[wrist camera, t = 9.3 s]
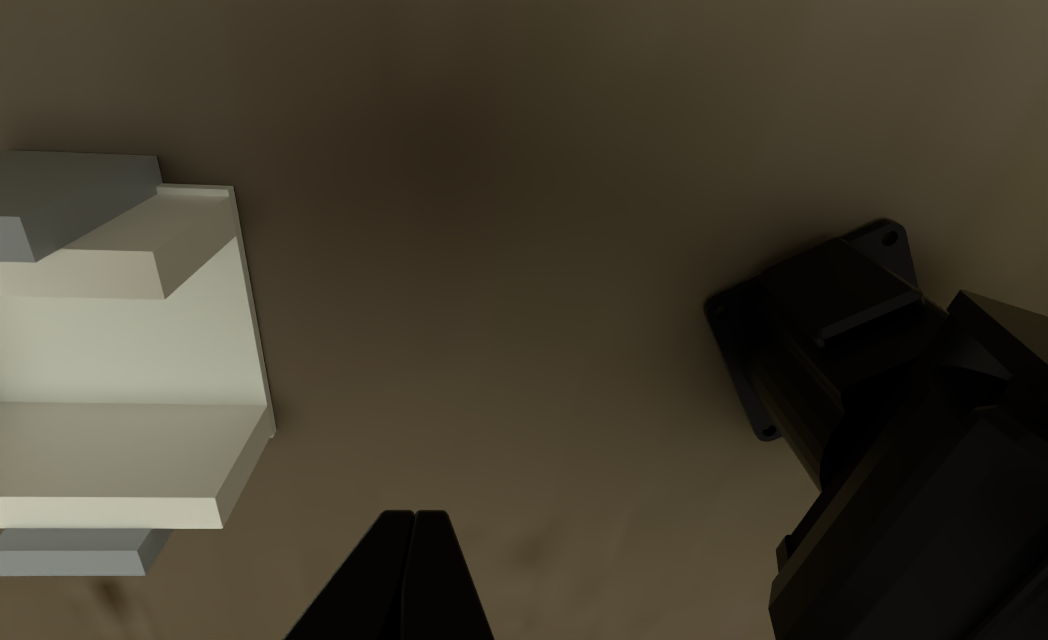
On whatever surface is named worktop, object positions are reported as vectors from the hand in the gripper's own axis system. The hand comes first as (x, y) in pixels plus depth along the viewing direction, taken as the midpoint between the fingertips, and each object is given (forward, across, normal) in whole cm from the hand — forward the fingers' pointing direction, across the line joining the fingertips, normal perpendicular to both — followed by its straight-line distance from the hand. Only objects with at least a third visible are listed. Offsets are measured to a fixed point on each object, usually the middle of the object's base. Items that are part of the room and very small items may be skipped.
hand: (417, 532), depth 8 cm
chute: (+12, +14, +3) cm, 19 cm away
